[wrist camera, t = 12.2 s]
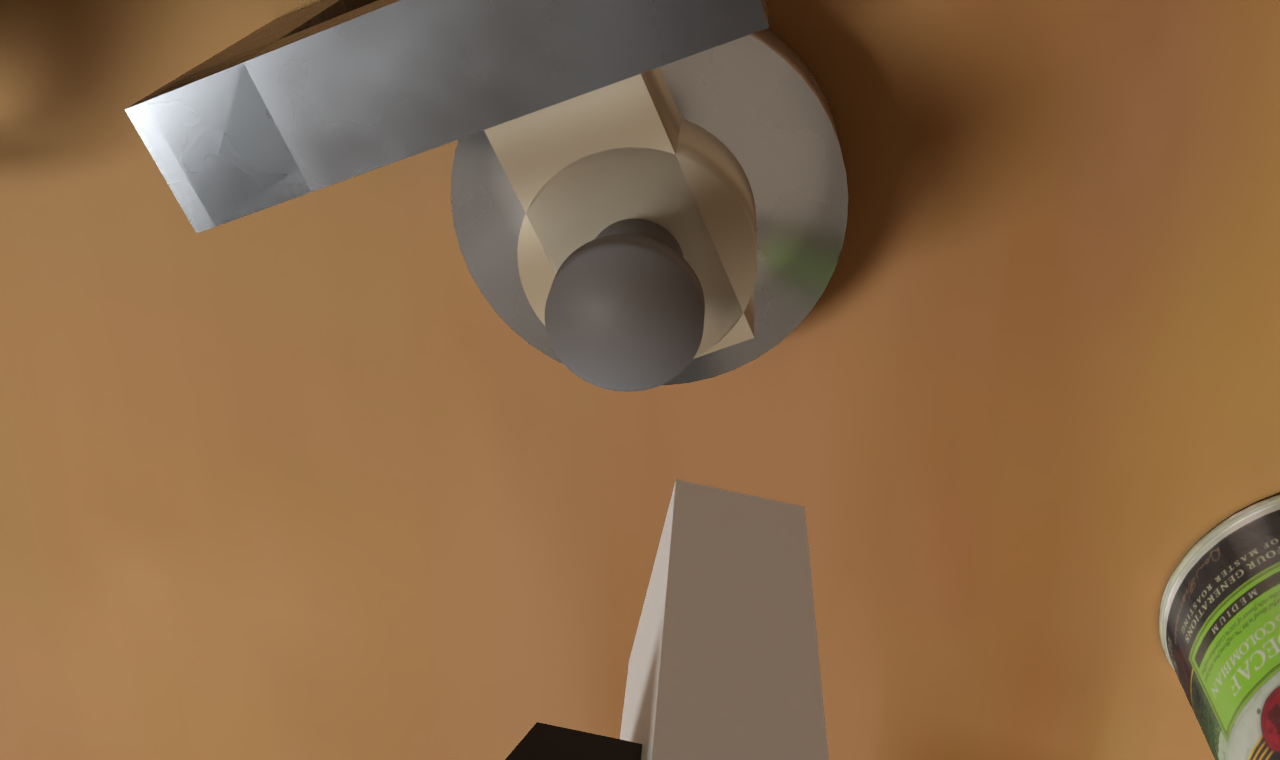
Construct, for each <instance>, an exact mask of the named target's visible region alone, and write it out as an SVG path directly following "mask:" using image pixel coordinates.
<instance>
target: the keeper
mask: <svg viewBox="0 0 1280 760" xmlns="http://www.w3.org/2000/svg"><path fill="white" fill-rule="evenodd" d="M767 28H769V18H768V6H767V3H766V0H378V1H375V0H322V1H320V2H317V3H315V4H312V5H310V6H307V7H305V8H302V9H300V10H297V11H295V12H292V13H290V14H287V15H285V16H282V17H280V18H278V19H275V20H273V21H271V22H270V23H268V24H266V25H265V26H263V27H261V28H260V29H258V30H256V31H255V32H253V33H251V34H250V35H248V36H246V37H245V38H243V39H241V40H240V41H238V42H236V43H235V44H233V45H231V46H230V47H228V48H226V49H225V50H223V51H221V52H220V53H218V54H216V55H215V56H213V57H211V58H210V59H208V60H206V61H205V62H203V63H201V64H200V65H198V66H196V67H195V68H193V69H191V70H190V71H188V72H186V73H185V74H183V75H181V76H180V77H178V78H176V79H175V80H173V81H171V82H170V83H168V84H166V85H165V86H163V87H161V88H160V89H158V90H156V91H155V92H153V93H151V94H150V95H148V96H146V97H145V98H143V99H141V100H140V101H138V102H136V103H135V104H133V105H131V106H130V107H128V108H126V109H125V111H126V113H127V115H128V116H129V118H130V120H131V121H132V123H133V125H134V127H135V128H136V130H137V132H138V133H139V135H140V137H141V139H142V140H143V142H144V144H145V145H146V147H147V149H148V151H149V152H150V154H151V156H152V157H153V159H154V161H155V163H156V164H157V166H158V168H159V169H160V171H161V173H162V175H163V176H164V178H165V180H166V181H167V183H168V185H169V187H170V188H171V190H172V192H173V193H174V195H175V197H176V199H177V200H178V202H179V204H180V205H181V207H182V209H183V211H184V212H185V214H186V216H187V217H188V219H189V221H190V223H191V224H192V226H193V228H194V229H195V231H196V233H199V232H201V231H204V230H207V229H210V228H213V227H215V226H218V225H221V224H224V223H226V222H229V221H232V220H235V219H238V218H240V217H243V216H246V215H249V214H252V213H254V212H257V211H260V210H263V209H265V208H268V207H271V206H274V205H277V204H279V203H282V202H285V201H288V200H290V199H293V198H296V197H299V196H302V195H304V194H307V193H310V192H313V191H316V190H318V189H321V188H324V187H327V186H329V185H332V184H335V183H338V182H341V181H343V180H346V179H349V178H352V177H355V176H357V175H360V174H363V173H366V172H368V171H371V170H374V169H377V168H380V167H382V166H385V165H388V164H391V163H394V162H396V161H399V160H402V159H405V158H407V157H410V156H413V155H416V154H419V153H421V152H424V151H427V150H430V149H432V148H435V147H438V146H441V145H444V144H446V143H449V142H452V141H455V140H458V139H460V138H463V137H466V136H469V135H471V134H474V133H477V132H480V131H483V130H485V129H488V128H491V127H494V126H497V125H499V124H502V123H505V122H508V121H510V120H513V119H516V118H519V117H522V116H524V115H527V114H530V113H533V112H536V111H538V110H541V109H544V108H547V107H549V106H552V105H555V104H558V103H561V102H563V101H566V100H569V99H572V98H574V97H577V96H580V95H583V94H586V93H588V92H591V91H594V90H597V89H600V88H602V87H605V86H608V85H611V84H613V83H616V82H619V81H622V80H625V79H627V78H630V77H633V76H636V75H639V74H641V73H644V72H647V71H650V70H652V69H655V68H658V67H661V66H664V65H666V64H669V63H672V62H675V61H678V60H680V59H683V58H686V57H689V56H691V55H694V54H697V53H700V52H703V51H705V50H708V49H711V48H714V47H716V46H719V45H722V44H725V43H728V42H730V41H733V40H736V39H739V38H742V37H744V36H747V35H750V34H753V33H755V32H758V31H761V30H764V29H767Z"/></svg>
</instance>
